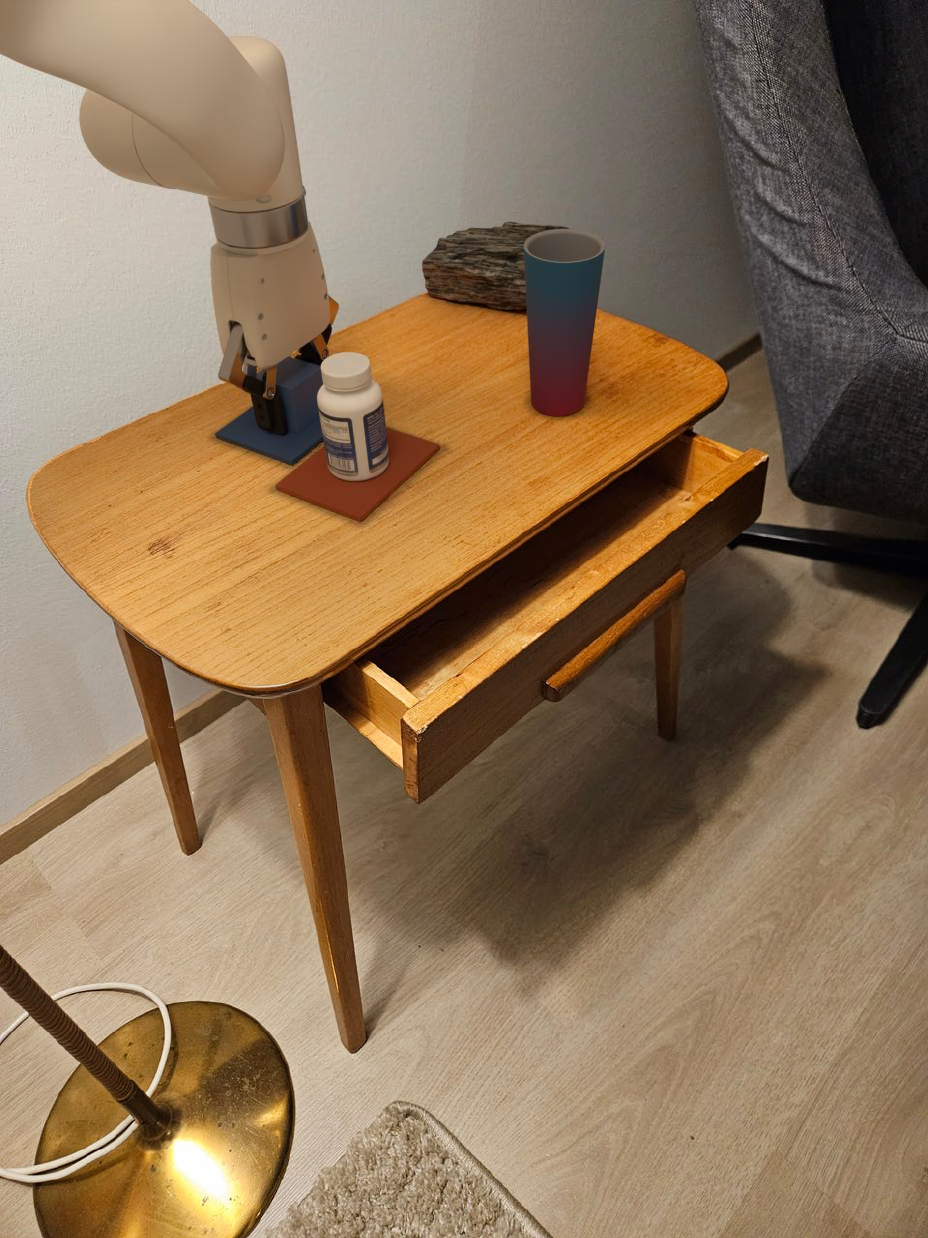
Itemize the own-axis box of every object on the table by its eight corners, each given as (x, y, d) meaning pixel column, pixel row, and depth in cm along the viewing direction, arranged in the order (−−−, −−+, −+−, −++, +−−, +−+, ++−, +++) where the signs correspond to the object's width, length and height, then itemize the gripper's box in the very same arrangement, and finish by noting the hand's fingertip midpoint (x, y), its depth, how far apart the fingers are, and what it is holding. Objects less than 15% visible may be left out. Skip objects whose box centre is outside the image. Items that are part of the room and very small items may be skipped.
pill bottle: (380, 442, 86) (370, 341, 79) (396, 475, 82) (387, 373, 75) (321, 454, 85) (305, 354, 78) (335, 488, 81) (319, 386, 74)
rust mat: (360, 522, 79) (360, 517, 78) (275, 489, 82) (274, 485, 82) (440, 449, 86) (439, 444, 85) (358, 422, 89) (358, 417, 89)
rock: (464, 263, 114) (460, 210, 110) (590, 278, 109) (591, 223, 104) (420, 305, 106) (414, 250, 102) (553, 324, 101) (553, 267, 97)
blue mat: (292, 465, 85) (291, 460, 84) (215, 437, 88) (214, 433, 88) (371, 401, 92) (371, 397, 91) (298, 378, 95) (297, 373, 95)
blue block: (298, 432, 87) (290, 389, 84) (260, 419, 89) (251, 376, 86) (328, 409, 90) (322, 366, 87) (291, 397, 92) (283, 354, 89)
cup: (511, 390, 92) (512, 235, 82) (577, 378, 94) (586, 223, 83) (536, 427, 88) (540, 267, 77) (605, 413, 89) (618, 254, 79)
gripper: (291, 174, 84) (319, 362, 96) (149, 248, 73) (201, 448, 86) (361, 189, 81) (380, 381, 93) (223, 268, 70) (265, 472, 83)
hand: (294, 411), depth 89 cm, fingers open, 5 cm apart
